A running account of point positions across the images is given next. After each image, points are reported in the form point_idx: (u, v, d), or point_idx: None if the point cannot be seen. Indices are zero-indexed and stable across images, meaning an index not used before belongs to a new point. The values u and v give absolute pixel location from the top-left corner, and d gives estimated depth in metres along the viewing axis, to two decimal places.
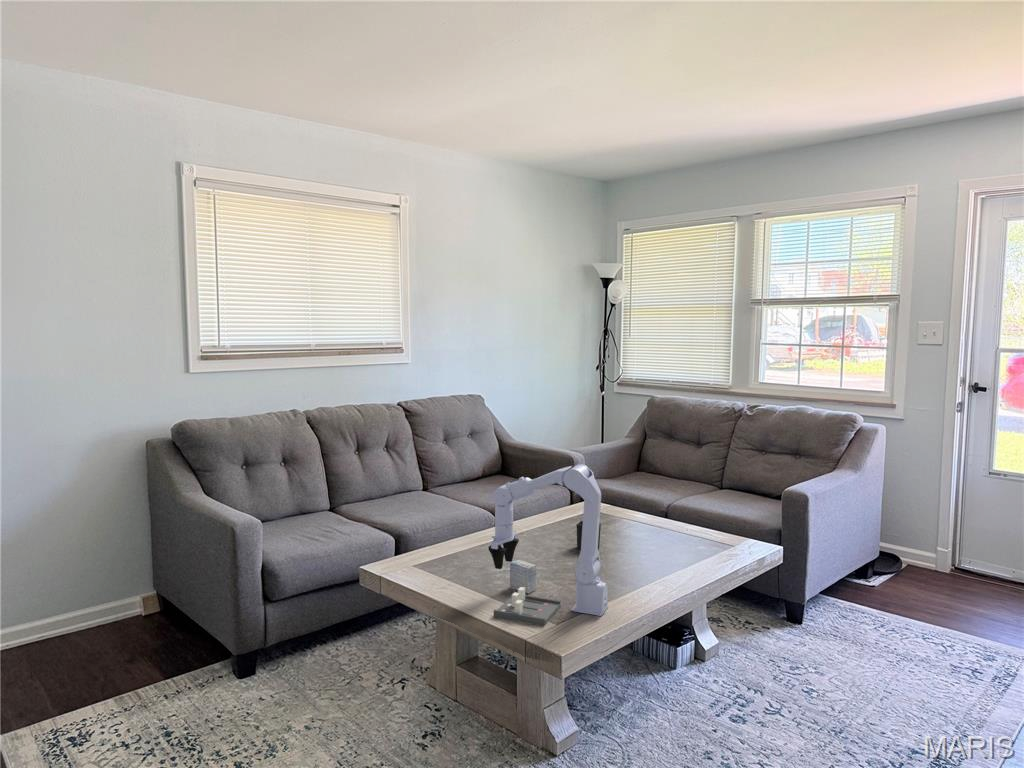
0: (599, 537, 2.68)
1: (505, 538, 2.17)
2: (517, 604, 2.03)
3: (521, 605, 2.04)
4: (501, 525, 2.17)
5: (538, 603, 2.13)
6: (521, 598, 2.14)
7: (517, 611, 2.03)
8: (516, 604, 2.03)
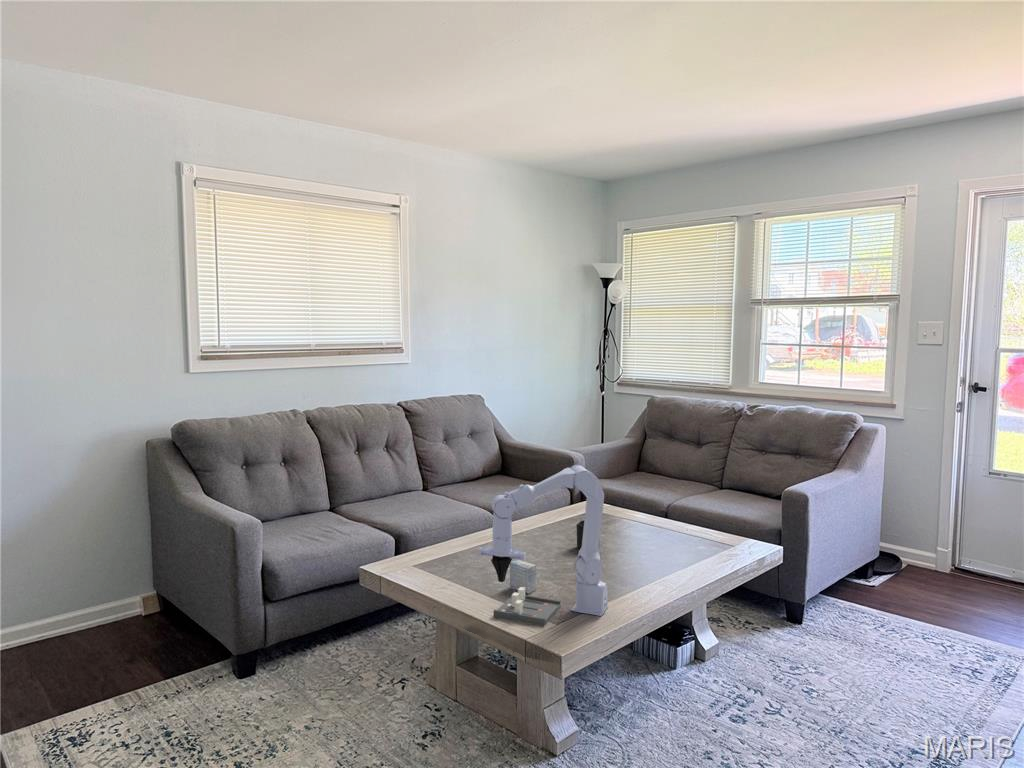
0: None
1: (492, 550, 2.05)
2: (517, 604, 2.03)
3: (521, 605, 2.04)
4: None
5: (538, 603, 2.13)
6: (521, 598, 2.14)
7: (517, 611, 2.03)
8: (516, 604, 2.03)
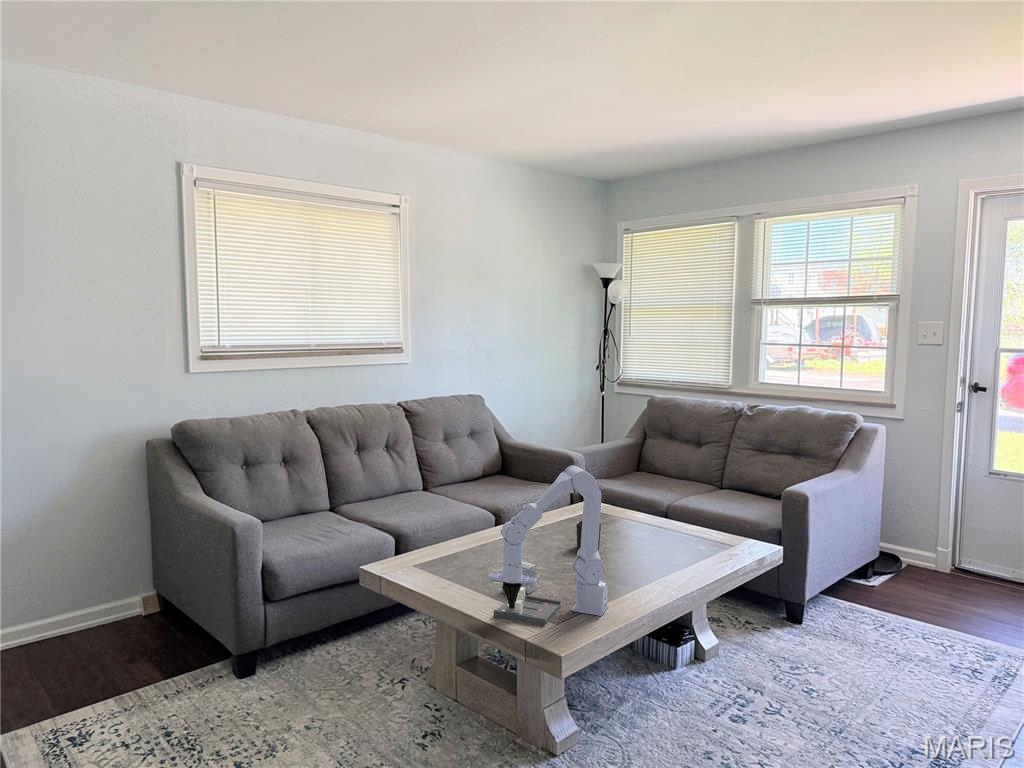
0: (599, 537, 2.68)
1: (503, 577, 2.04)
2: (518, 604, 2.03)
3: (521, 605, 2.04)
4: None
5: (538, 603, 2.13)
6: (521, 598, 2.14)
7: (517, 611, 2.03)
8: (516, 604, 2.03)
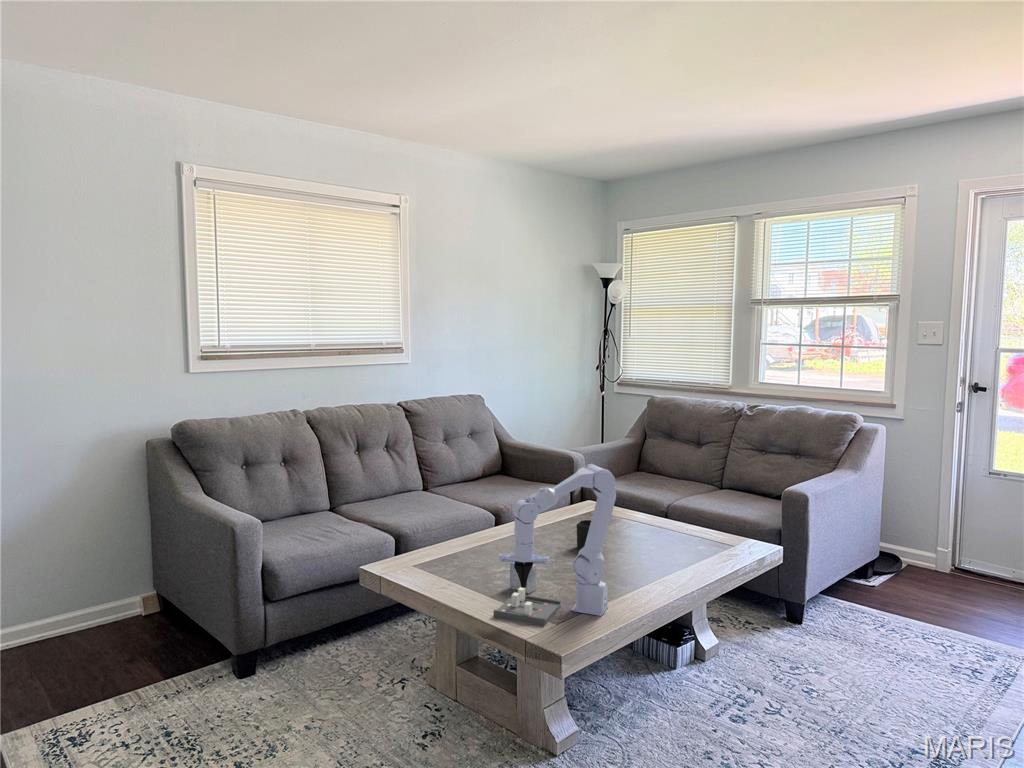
0: None
1: (515, 556, 2.01)
2: (527, 606, 2.02)
3: (531, 607, 2.03)
4: (514, 541, 2.02)
5: (538, 603, 2.13)
6: (521, 598, 2.14)
7: (527, 613, 2.02)
8: (526, 606, 2.02)
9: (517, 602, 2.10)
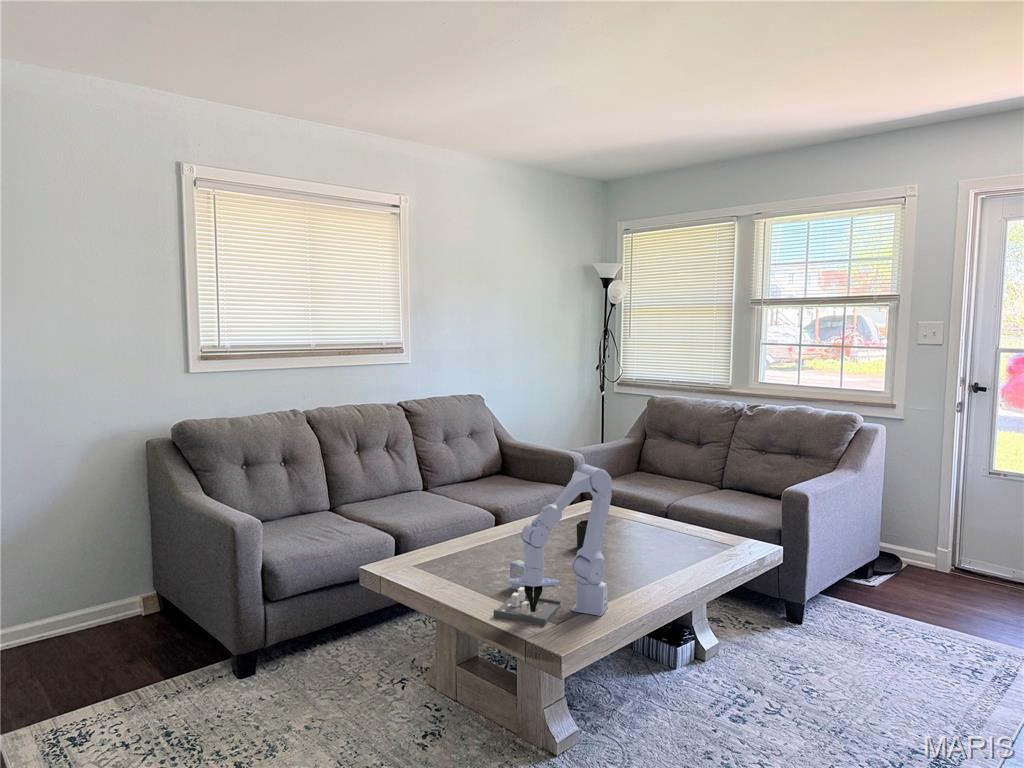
0: None
1: (525, 581, 2.01)
2: (525, 606, 2.02)
3: (528, 606, 2.04)
4: (524, 565, 2.01)
5: (538, 603, 2.13)
6: (521, 598, 2.14)
7: (524, 612, 2.03)
8: (523, 605, 2.03)
9: (517, 602, 2.10)
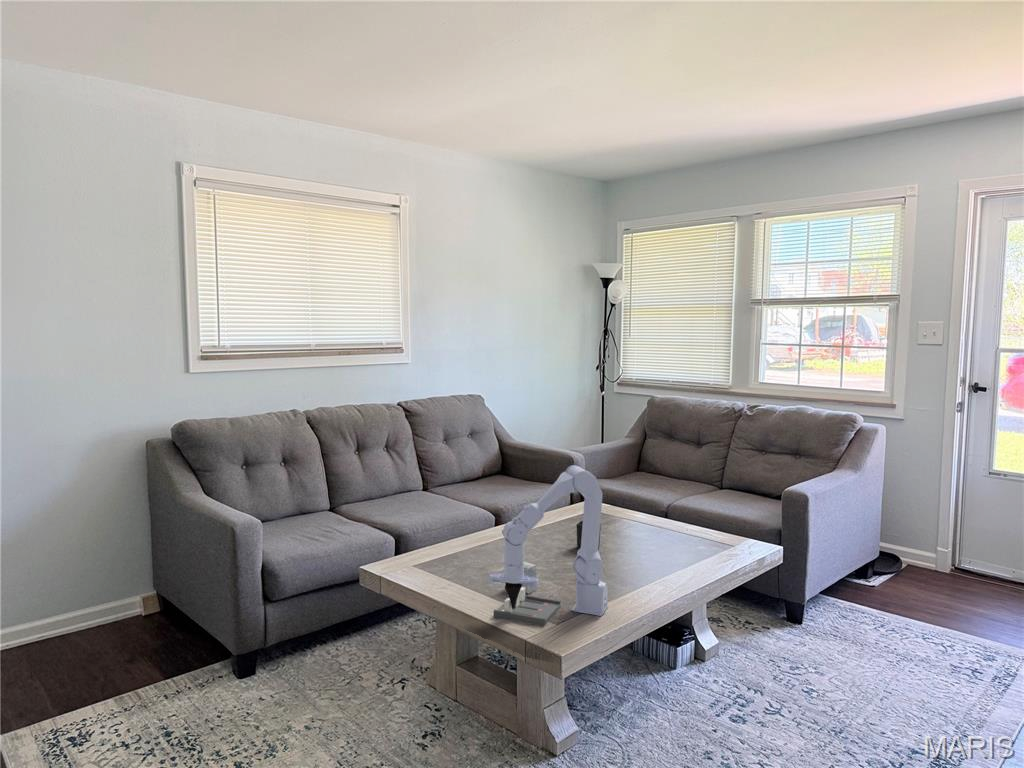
0: (599, 537, 2.68)
1: (504, 577, 2.03)
2: (507, 603, 2.05)
3: None
4: None
5: (538, 603, 2.13)
6: (521, 598, 2.14)
7: (507, 609, 2.05)
8: (506, 602, 2.05)
9: (517, 602, 2.10)
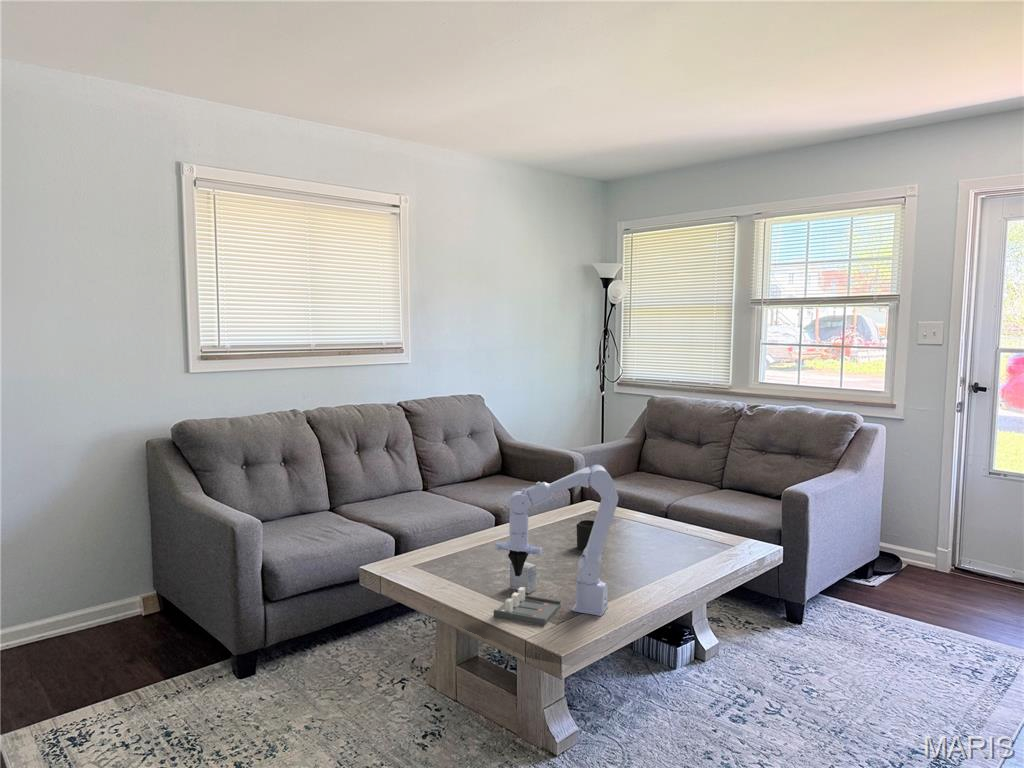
0: None
1: (509, 545, 2.10)
2: (508, 603, 2.04)
3: (511, 603, 2.06)
4: (509, 530, 2.11)
5: (538, 603, 2.13)
6: (521, 598, 2.14)
7: (507, 609, 2.05)
8: (506, 602, 2.05)
9: (517, 602, 2.10)
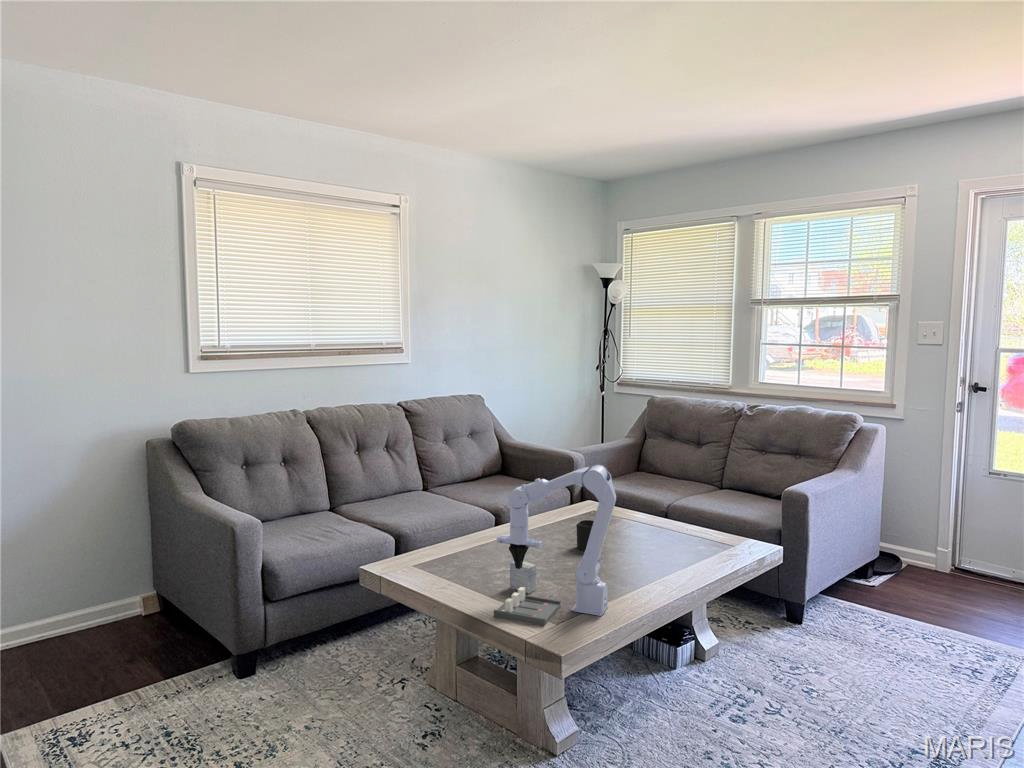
0: None
1: (510, 538, 2.16)
2: (508, 603, 2.04)
3: (511, 603, 2.06)
4: None
5: (538, 603, 2.13)
6: (521, 598, 2.14)
7: (507, 609, 2.05)
8: (506, 602, 2.05)
9: (517, 602, 2.10)
